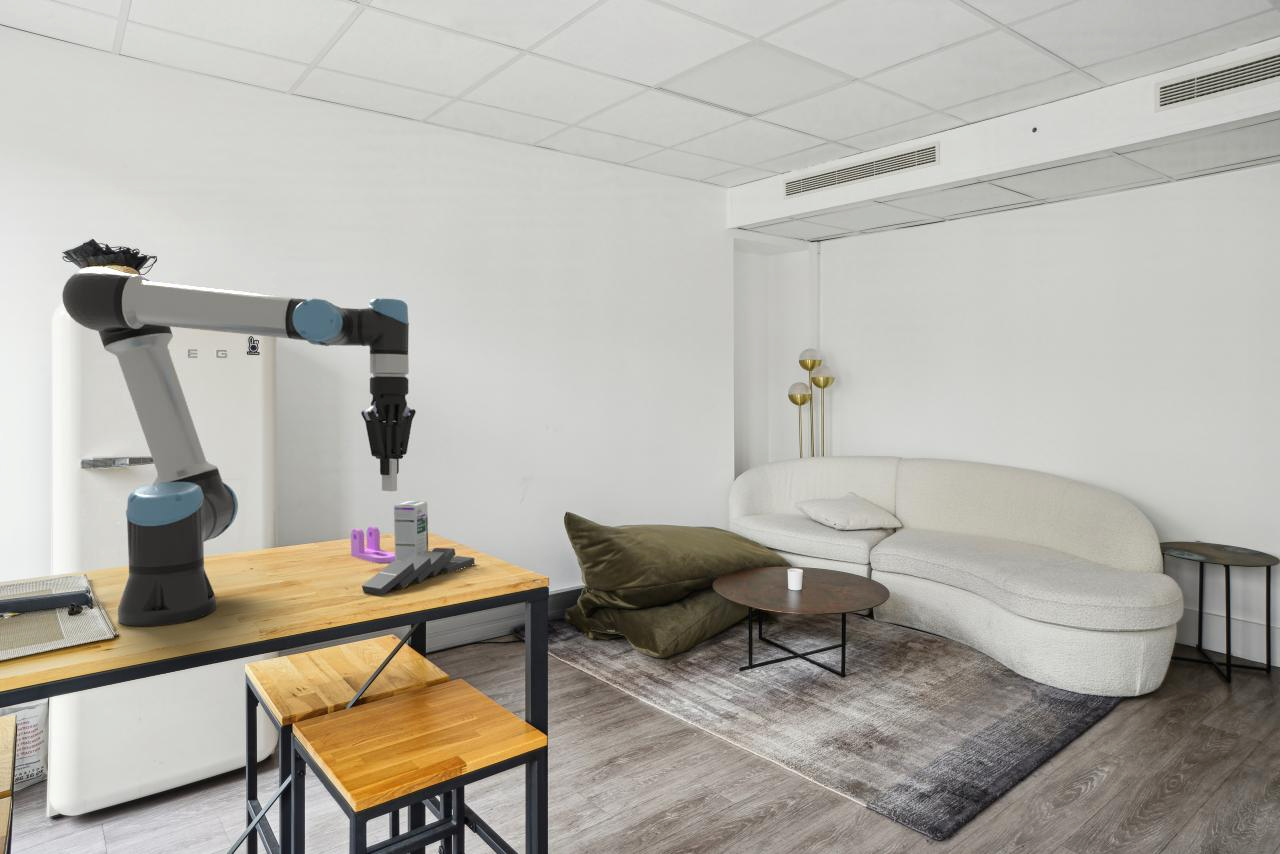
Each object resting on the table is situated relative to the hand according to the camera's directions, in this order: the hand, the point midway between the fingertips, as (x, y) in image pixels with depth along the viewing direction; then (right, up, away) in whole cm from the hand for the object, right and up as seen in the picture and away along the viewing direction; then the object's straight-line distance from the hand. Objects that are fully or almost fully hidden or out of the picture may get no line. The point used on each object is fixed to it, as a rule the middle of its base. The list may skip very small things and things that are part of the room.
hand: (389, 490), depth 157 cm
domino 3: (+2, -19, +6) cm, 20 cm away
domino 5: (+6, -19, +15) cm, 25 cm away
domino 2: (0, -20, +1) cm, 20 cm away
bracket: (-13, -19, +29) cm, 37 cm away
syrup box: (-2, -19, +23) cm, 30 cm away
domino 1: (-2, -20, -3) cm, 20 cm away
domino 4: (+4, -19, +11) cm, 22 cm away
